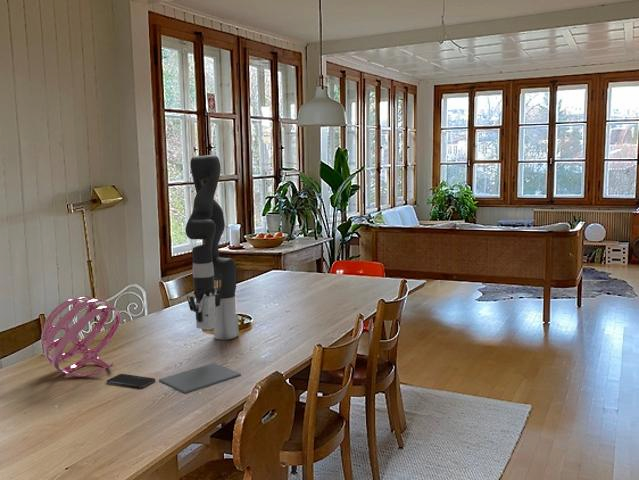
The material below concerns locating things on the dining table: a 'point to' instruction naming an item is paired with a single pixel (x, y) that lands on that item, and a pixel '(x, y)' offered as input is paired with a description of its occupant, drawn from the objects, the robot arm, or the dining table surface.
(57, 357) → the spiral basket
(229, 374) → the rubber mat
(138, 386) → the phone
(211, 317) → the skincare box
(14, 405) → the dining table surface
